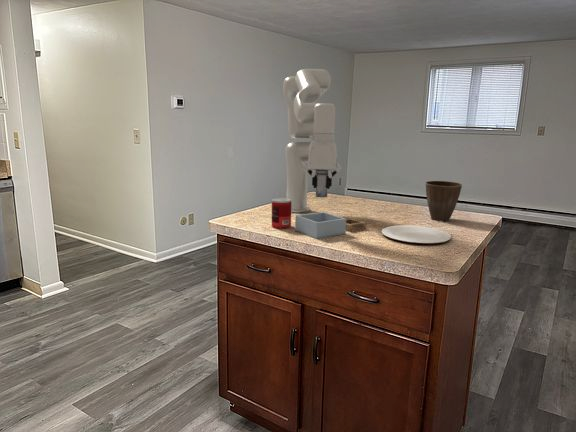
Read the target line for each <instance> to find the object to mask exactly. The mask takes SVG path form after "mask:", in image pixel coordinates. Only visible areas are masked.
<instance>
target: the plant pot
mask: <svg viewBox="0 0 576 432" xmlns="http://www.w3.org/2000/svg"><path fill="white" fill-rule="evenodd" d="M462 187H463V184H462V183H460V182H454V181H446V180H431V181H426V182H425V194H426V202H427V206H428V212H429V214H430V218H431V220H433V221H436V222H437V221H438V222H449V221H450V219H451V218H452V215H453V213H454V211H455V208H456V207H457V203H458V201H459V198H460V195H461V191H462Z"/></svg>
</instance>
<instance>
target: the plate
mask: <svg viewBox="0 0 576 432" xmlns="http://www.w3.org/2000/svg"><path fill="white" fill-rule="evenodd" d="M380 233H382V235H383V236H385V237H386V238H389V239H391V240H395V241H397V242H398V241H399V242H404V243H409V244H410V243H411V244H419V245H422V244H423V245H433V244H435V245H436V244H442V243H447V242H448V241H450V240H451V239H452V237H451V235H450V234H449V233H447V232H446V231H444V230H440V229H437V228H433V227H428V226H423V225H407V224H405V225H391V226H387V227H384V228H382V230H381V232H380Z"/></svg>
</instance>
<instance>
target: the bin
mask: <svg viewBox="0 0 576 432" xmlns="http://www.w3.org/2000/svg"><path fill="white" fill-rule="evenodd" d="M346 219H347V218H344V217H341V216H338V215H334V214H332V213H328V212H326V211H323V212H322V211H320V212H311V213H307V214H297V215H295V225H294V226H295V229H294V231H295V232H297V233H300V234H303V235H305V236H308V237H310V238H313V239H315V240H319V239H325V238H331V237H337V236H344V235H346V232H347V231H346Z"/></svg>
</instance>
